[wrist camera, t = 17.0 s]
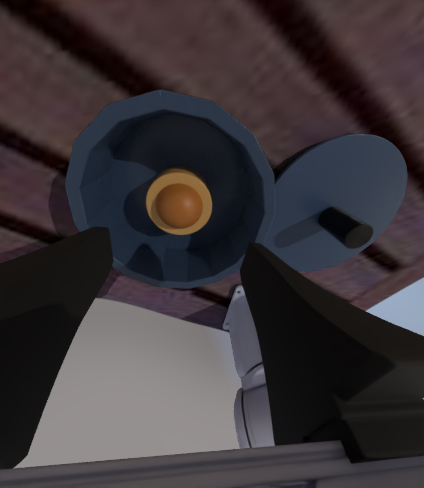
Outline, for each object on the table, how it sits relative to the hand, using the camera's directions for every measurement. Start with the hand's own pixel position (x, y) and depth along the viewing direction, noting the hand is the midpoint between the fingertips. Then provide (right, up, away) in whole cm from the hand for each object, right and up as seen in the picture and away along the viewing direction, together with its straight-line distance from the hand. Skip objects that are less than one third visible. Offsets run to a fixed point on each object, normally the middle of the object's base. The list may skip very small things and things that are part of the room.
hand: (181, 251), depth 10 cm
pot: (-1, +5, +7) cm, 9 cm away
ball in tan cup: (-1, +5, +7) cm, 9 cm away
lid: (+14, +3, +9) cm, 17 cm away
